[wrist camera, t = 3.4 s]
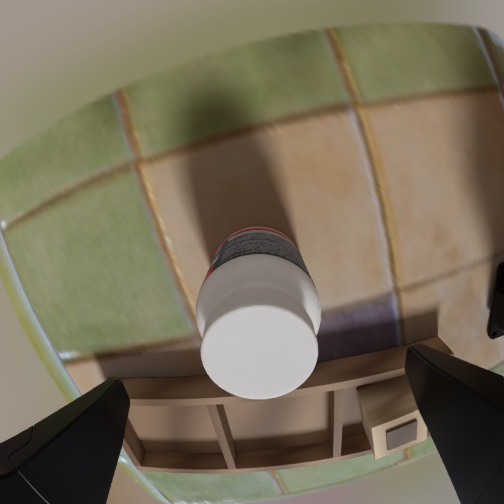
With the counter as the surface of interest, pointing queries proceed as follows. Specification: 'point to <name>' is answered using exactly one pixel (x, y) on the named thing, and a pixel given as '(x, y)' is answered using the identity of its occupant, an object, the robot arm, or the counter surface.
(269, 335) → the pill bottle
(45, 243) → the counter surface
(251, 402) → the bay tray
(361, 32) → the counter surface
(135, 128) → the counter surface
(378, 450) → the tan hollow cube
